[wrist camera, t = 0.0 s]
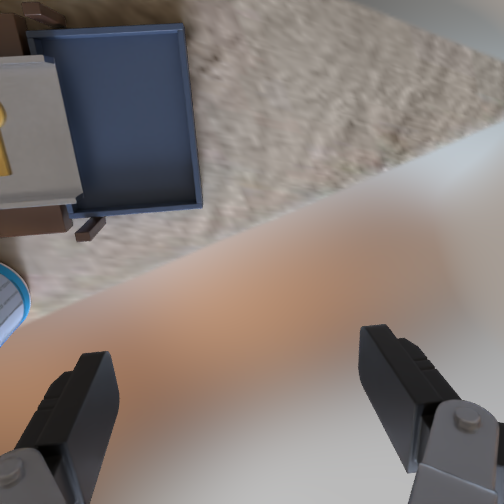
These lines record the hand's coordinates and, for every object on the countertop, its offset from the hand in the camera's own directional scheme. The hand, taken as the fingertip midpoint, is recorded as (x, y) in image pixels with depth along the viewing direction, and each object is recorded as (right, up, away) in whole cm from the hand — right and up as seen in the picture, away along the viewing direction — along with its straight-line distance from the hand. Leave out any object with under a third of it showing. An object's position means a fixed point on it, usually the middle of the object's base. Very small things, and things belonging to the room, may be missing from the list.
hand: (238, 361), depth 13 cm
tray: (-11, +15, +23) cm, 29 cm away
